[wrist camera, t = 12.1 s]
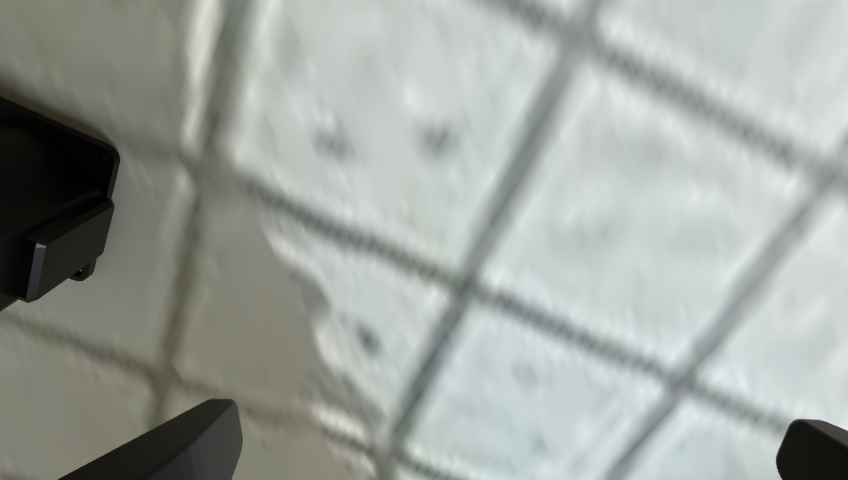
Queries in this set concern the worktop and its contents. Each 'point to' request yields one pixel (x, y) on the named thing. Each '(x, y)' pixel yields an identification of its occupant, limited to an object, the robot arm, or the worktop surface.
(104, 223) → the robot arm
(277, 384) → the worktop surface
